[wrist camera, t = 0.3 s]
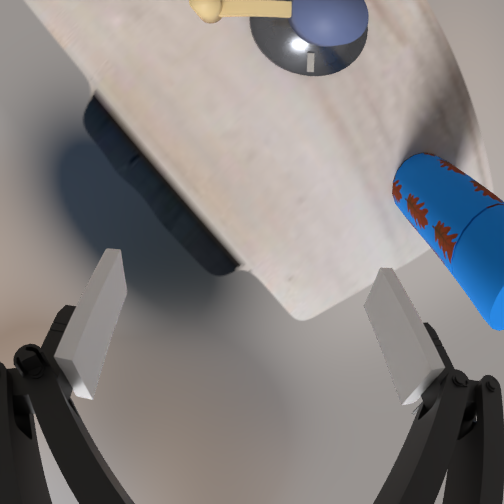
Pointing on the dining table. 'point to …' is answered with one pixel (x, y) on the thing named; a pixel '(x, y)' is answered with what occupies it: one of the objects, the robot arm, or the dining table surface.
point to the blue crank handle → (297, 16)
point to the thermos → (457, 227)
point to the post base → (301, 48)
